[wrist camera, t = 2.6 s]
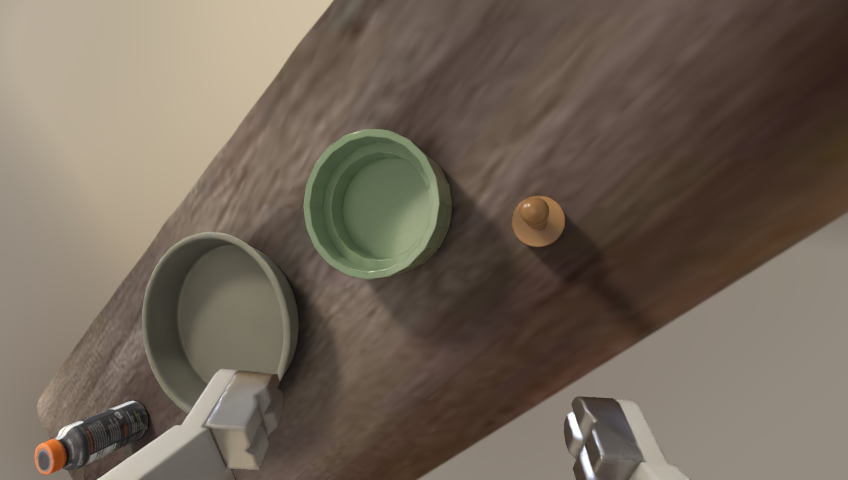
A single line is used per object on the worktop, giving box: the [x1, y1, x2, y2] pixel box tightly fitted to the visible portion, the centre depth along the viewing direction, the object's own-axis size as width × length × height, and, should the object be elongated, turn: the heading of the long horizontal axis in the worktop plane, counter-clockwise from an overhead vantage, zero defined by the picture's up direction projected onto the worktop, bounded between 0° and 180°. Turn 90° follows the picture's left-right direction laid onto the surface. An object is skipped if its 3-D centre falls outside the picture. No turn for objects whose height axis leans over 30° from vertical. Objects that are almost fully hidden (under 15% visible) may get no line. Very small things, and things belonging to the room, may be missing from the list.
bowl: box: [304, 129, 452, 279], centre depth 41 cm, size 16×16×6 cm
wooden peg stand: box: [512, 196, 565, 247], centre depth 30 cm, size 5×5×17 cm
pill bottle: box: [35, 401, 148, 475], centre depth 52 cm, size 6×6×11 cm
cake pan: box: [142, 232, 299, 414], centre depth 49 cm, size 25×25×4 cm
